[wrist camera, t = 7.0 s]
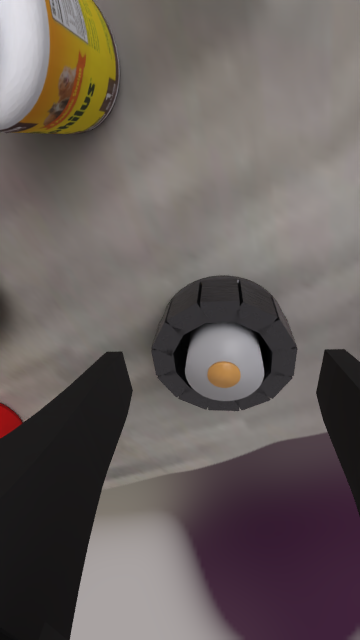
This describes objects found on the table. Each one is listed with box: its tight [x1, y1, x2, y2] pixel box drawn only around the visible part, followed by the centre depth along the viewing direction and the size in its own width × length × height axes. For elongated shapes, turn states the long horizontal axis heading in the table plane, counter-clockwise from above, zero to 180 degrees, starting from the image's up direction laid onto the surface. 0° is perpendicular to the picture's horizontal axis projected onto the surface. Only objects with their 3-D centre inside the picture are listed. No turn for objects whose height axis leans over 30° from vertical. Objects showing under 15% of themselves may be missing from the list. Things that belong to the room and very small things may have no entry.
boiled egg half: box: [185, 322, 264, 401], centre depth 19 cm, size 5×5×4 cm
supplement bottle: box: [0, 0, 120, 134], centre depth 10 cm, size 6×6×10 cm
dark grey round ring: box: [151, 276, 297, 411], centre depth 20 cm, size 9×9×4 cm
